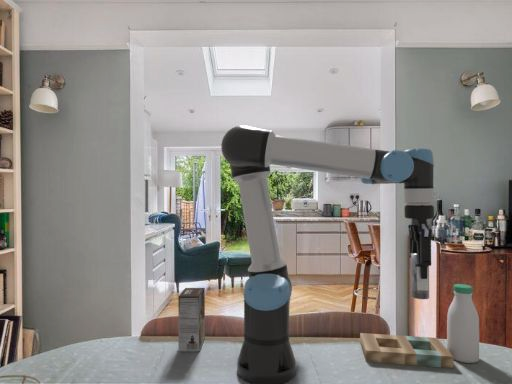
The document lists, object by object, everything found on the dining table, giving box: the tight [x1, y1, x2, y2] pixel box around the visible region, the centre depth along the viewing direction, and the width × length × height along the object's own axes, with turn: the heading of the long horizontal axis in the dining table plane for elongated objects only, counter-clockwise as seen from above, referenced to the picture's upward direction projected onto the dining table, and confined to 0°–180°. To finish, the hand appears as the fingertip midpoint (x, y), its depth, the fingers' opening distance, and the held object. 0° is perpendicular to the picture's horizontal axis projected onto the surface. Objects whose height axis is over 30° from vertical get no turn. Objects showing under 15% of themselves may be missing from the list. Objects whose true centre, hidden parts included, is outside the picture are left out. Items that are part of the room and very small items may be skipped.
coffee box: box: [177, 287, 206, 352], centre depth 105 cm, size 9×6×16 cm
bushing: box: [410, 253, 430, 300], centre depth 98 cm, size 5×5×12 cm
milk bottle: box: [446, 283, 480, 364], centre depth 98 cm, size 8×8×20 cm
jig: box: [359, 332, 454, 369], centre depth 99 cm, size 22×12×3 cm, turn 81°
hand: (420, 287), depth 98 cm, fingers closed on bushing, 5 cm apart
